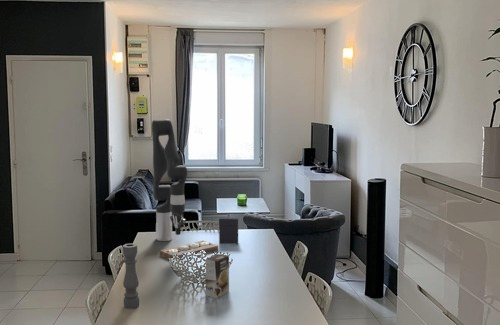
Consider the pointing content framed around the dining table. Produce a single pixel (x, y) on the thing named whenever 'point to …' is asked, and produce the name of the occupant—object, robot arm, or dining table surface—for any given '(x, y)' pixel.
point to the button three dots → (194, 245)
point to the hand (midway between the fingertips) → (178, 234)
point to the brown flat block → (207, 249)
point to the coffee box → (217, 275)
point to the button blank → (184, 248)
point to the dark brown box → (228, 230)
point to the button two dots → (173, 251)
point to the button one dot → (204, 244)
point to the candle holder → (130, 277)
